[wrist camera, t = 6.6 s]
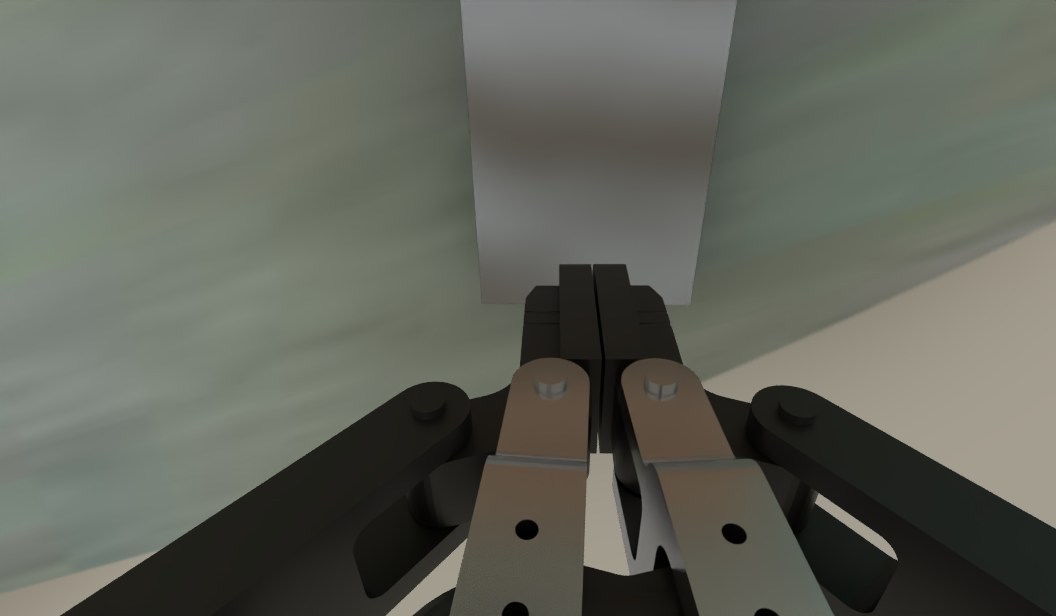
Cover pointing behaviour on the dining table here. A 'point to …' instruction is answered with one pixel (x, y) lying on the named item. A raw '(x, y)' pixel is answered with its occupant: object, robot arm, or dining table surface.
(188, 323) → the dining table surface
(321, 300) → the dining table surface
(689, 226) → the grey flat plate
